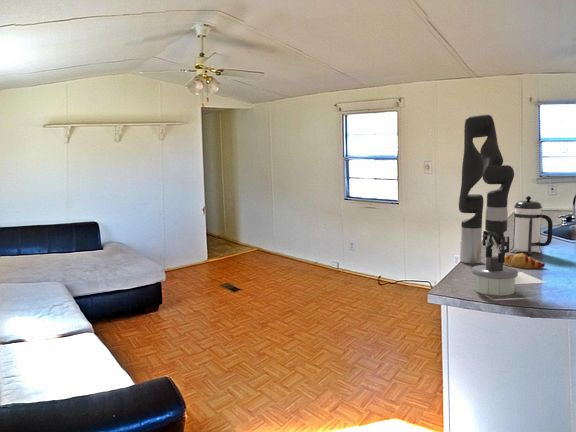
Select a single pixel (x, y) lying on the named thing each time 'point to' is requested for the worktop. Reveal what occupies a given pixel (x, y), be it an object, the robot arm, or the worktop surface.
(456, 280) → the worktop surface
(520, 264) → the croissant
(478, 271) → the lid
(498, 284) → the bowl
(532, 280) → the mat
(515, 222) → the coffee press
